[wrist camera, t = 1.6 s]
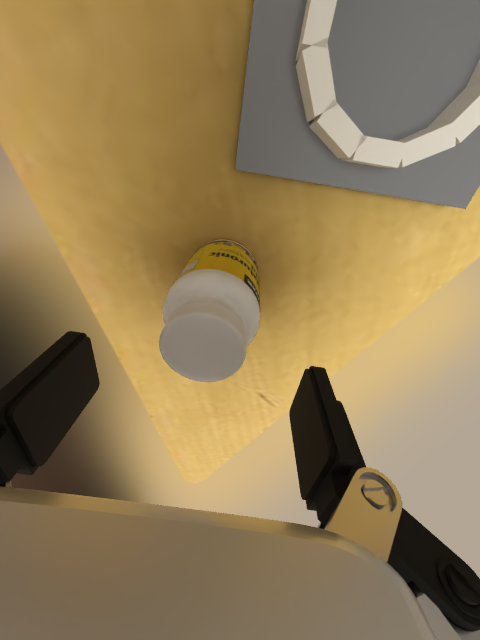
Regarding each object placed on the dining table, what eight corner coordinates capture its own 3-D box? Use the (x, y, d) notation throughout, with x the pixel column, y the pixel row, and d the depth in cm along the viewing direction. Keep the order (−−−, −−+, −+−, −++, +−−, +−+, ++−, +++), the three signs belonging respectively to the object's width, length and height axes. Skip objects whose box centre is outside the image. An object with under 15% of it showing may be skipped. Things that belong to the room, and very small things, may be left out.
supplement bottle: (273, 271, 19) (287, 354, 11) (227, 313, 22) (210, 408, 13) (221, 220, 17) (189, 273, 9) (176, 272, 20) (120, 352, 11)
